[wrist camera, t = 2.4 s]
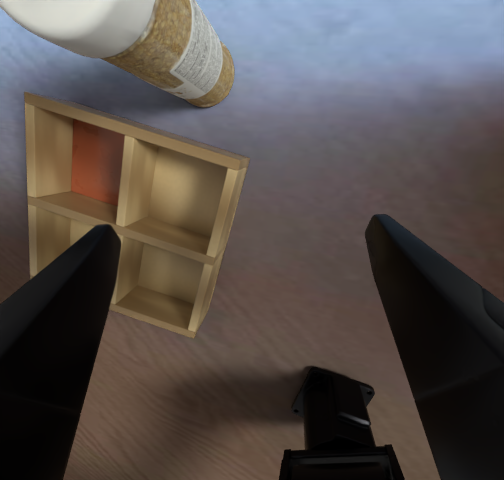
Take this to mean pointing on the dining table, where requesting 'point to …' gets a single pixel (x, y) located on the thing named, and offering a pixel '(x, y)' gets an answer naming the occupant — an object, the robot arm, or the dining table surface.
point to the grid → (132, 205)
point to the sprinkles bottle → (138, 40)
